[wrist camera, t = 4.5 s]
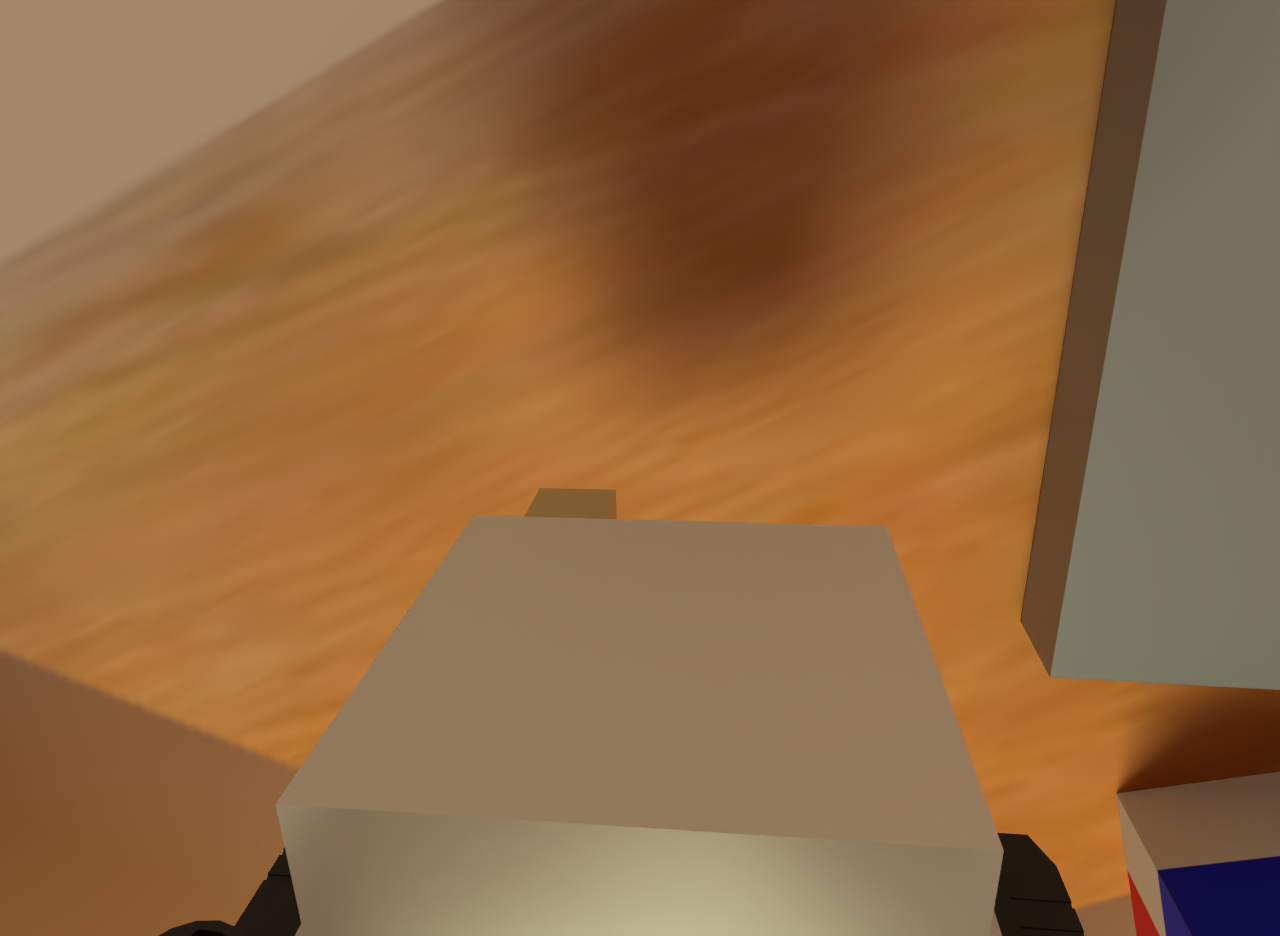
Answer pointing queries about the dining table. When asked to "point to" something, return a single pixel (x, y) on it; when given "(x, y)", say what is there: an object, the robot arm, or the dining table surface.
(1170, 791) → the puzzle toy
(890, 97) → the dining table surface
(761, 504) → the dining table surface
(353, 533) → the dining table surface
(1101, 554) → the socket plate
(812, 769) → the plug
